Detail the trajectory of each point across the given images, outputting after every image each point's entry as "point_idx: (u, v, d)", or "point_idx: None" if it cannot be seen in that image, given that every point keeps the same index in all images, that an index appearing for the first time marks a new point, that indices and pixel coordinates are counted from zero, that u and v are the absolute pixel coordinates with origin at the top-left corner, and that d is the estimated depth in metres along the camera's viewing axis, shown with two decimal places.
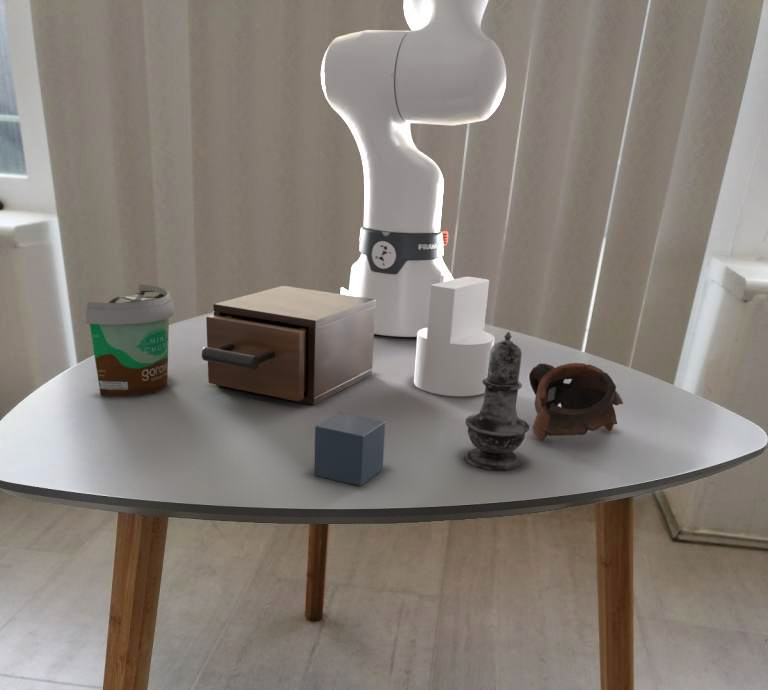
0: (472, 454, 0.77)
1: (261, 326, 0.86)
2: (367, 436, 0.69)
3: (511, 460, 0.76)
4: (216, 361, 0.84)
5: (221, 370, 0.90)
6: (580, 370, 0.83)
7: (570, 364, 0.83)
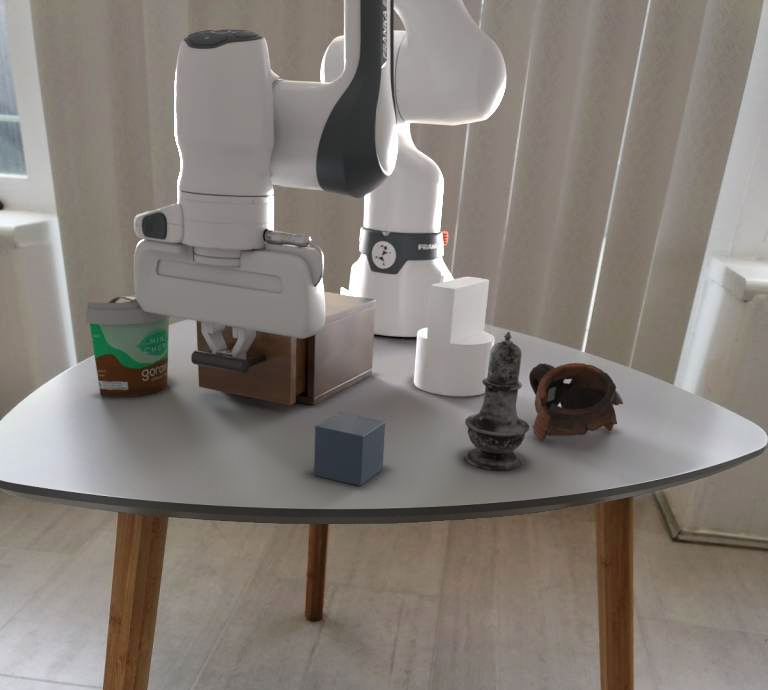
0: (472, 454, 0.77)
1: None
2: (367, 436, 0.69)
3: (511, 460, 0.76)
4: (206, 365, 0.83)
5: (212, 374, 0.89)
6: (580, 370, 0.83)
7: (570, 364, 0.83)
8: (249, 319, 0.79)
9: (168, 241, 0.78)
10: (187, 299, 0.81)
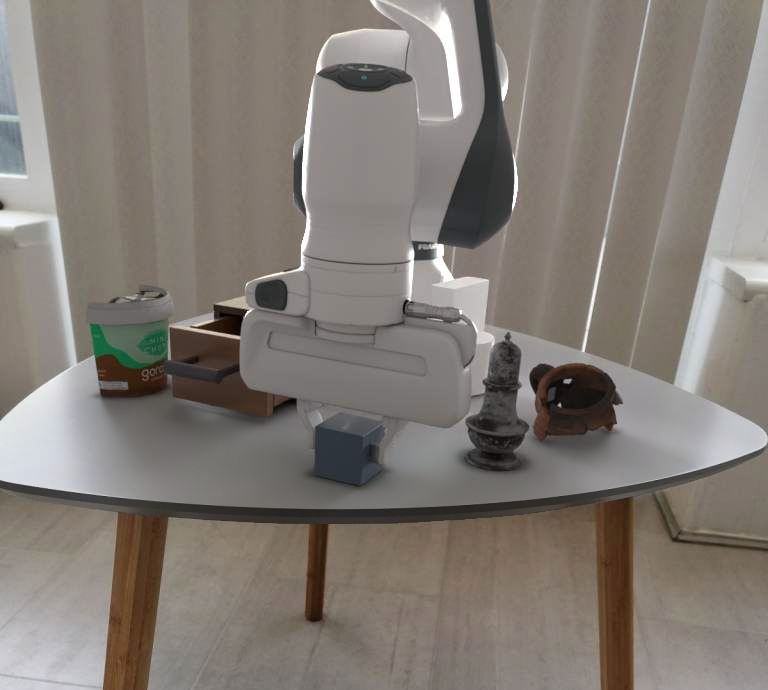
0: (472, 455, 0.77)
1: (226, 337, 0.81)
2: (367, 436, 0.69)
3: (511, 460, 0.76)
4: (178, 375, 0.79)
5: (186, 383, 0.85)
6: (580, 370, 0.83)
7: (570, 364, 0.83)
8: (382, 404, 0.67)
9: (288, 313, 0.66)
10: (304, 378, 0.69)
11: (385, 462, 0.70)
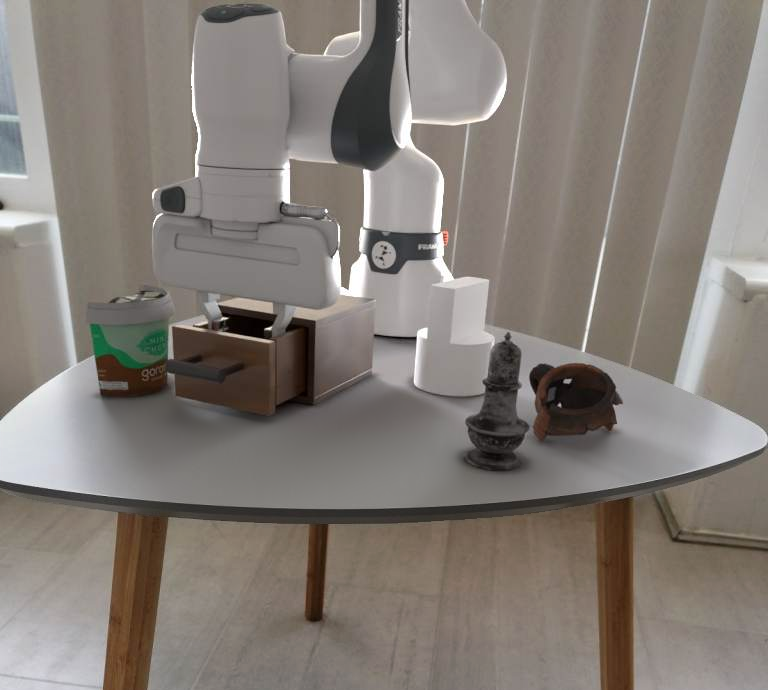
0: (472, 455, 0.77)
1: (229, 336, 0.81)
2: None
3: (511, 460, 0.76)
4: (180, 374, 0.80)
5: (188, 382, 0.85)
6: (580, 370, 0.83)
7: (570, 364, 0.83)
8: (267, 291, 0.81)
9: (186, 215, 0.80)
10: (205, 272, 0.83)
11: None
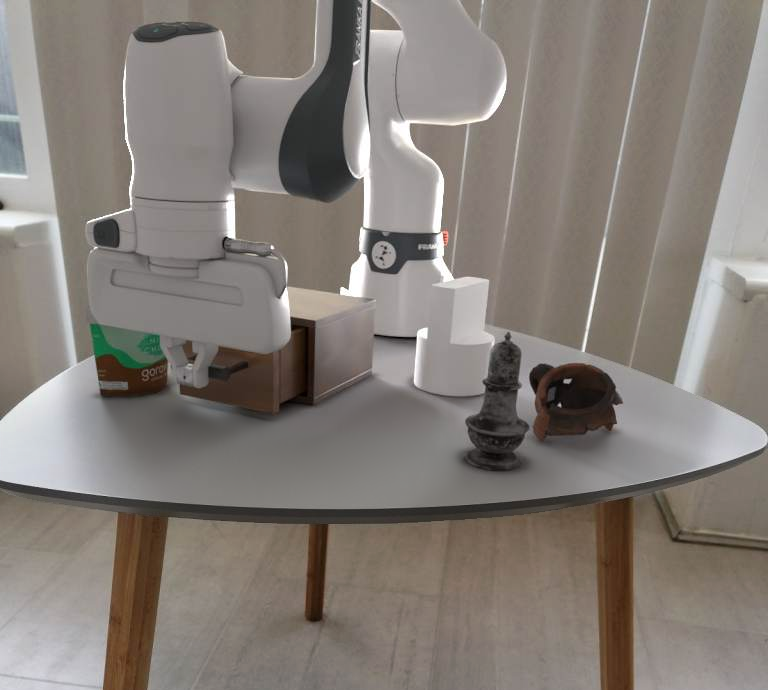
0: (472, 454, 0.77)
1: None
2: None
3: (511, 460, 0.76)
4: None
5: None
6: (580, 370, 0.83)
7: (570, 364, 0.83)
8: (209, 333, 0.74)
9: (121, 250, 0.73)
10: (144, 311, 0.76)
11: (199, 385, 0.78)
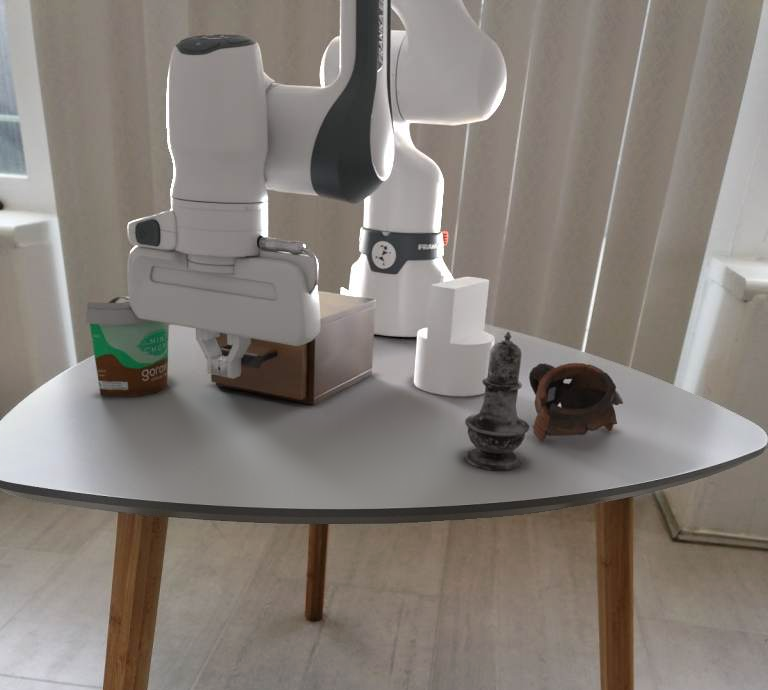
0: (472, 455, 0.77)
1: None
2: None
3: (511, 460, 0.76)
4: None
5: None
6: (580, 370, 0.83)
7: (570, 364, 0.83)
8: (244, 326, 0.79)
9: (162, 248, 0.77)
10: (181, 306, 0.81)
11: (233, 376, 0.83)
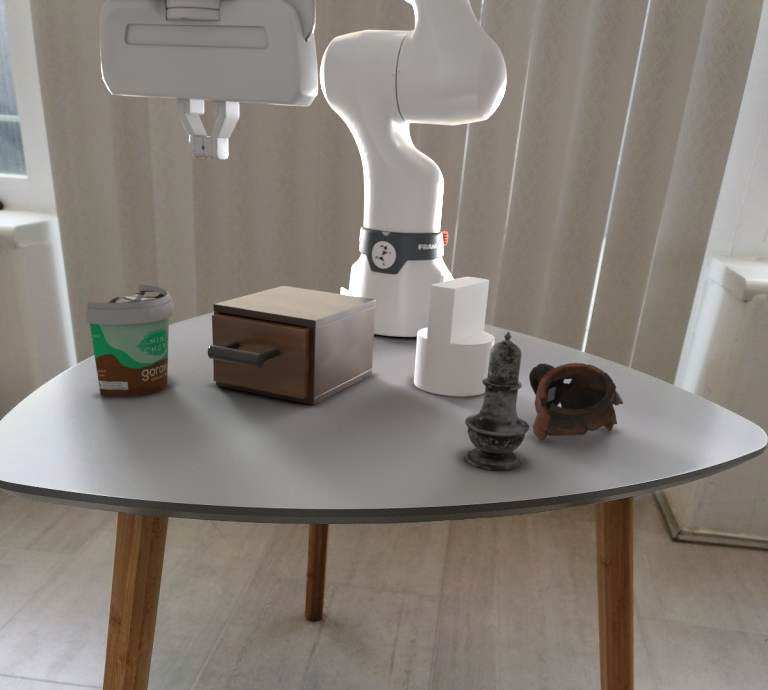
0: (472, 455, 0.77)
1: (266, 324, 0.87)
2: None
3: (511, 460, 0.76)
4: (222, 359, 0.85)
5: (226, 368, 0.91)
6: (580, 370, 0.83)
7: (570, 364, 0.83)
8: (231, 86, 0.69)
9: None
10: (160, 71, 0.71)
11: (219, 156, 0.73)
